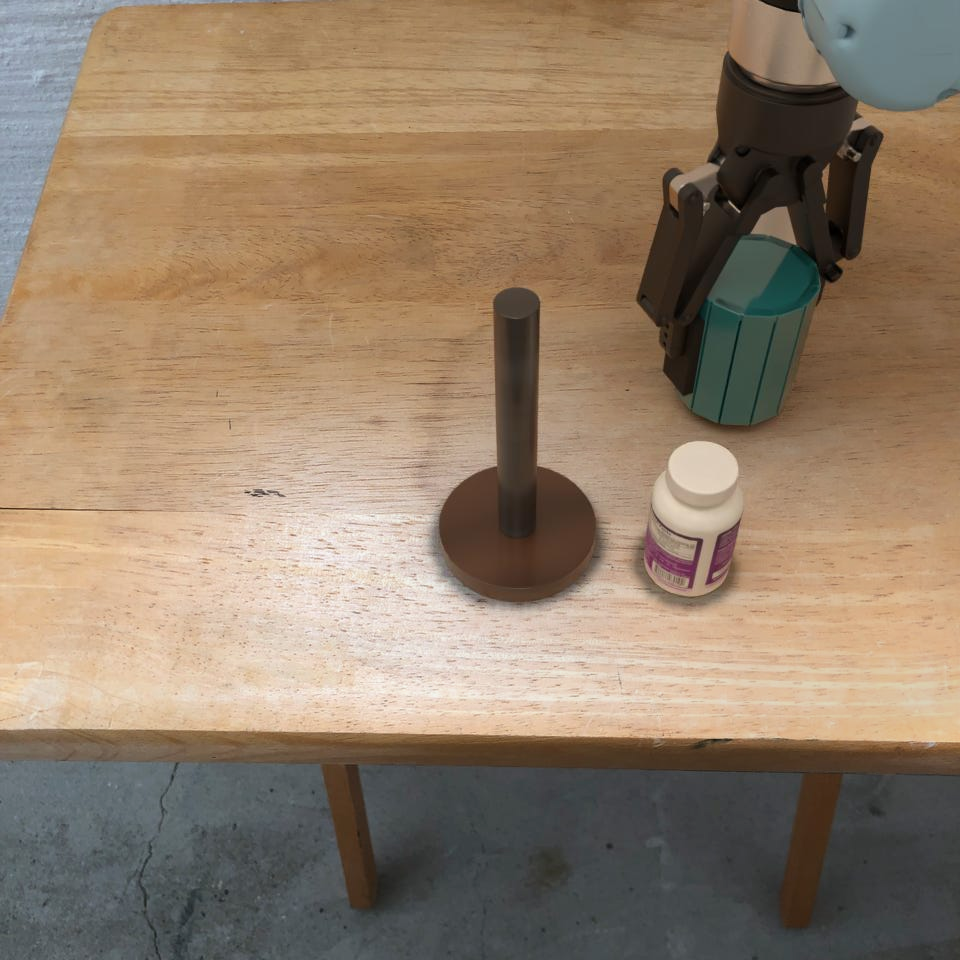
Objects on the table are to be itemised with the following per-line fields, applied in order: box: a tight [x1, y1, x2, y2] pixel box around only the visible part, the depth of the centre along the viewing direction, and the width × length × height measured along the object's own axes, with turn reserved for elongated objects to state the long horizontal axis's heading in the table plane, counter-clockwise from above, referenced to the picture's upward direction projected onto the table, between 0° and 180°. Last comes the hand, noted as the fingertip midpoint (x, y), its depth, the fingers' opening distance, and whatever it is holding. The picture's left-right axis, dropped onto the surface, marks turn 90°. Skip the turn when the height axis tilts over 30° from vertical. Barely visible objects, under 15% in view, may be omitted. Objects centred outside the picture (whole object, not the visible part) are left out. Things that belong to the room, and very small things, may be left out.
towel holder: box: [438, 286, 597, 603], centre depth 63 cm, size 10×10×20 cm
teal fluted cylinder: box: [673, 234, 821, 427], centre depth 74 cm, size 8×8×10 cm
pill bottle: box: [643, 440, 745, 597], centre depth 66 cm, size 5×5×10 cm
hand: (732, 361), depth 76 cm, fingers closed on teal fluted cylinder, 8 cm apart
